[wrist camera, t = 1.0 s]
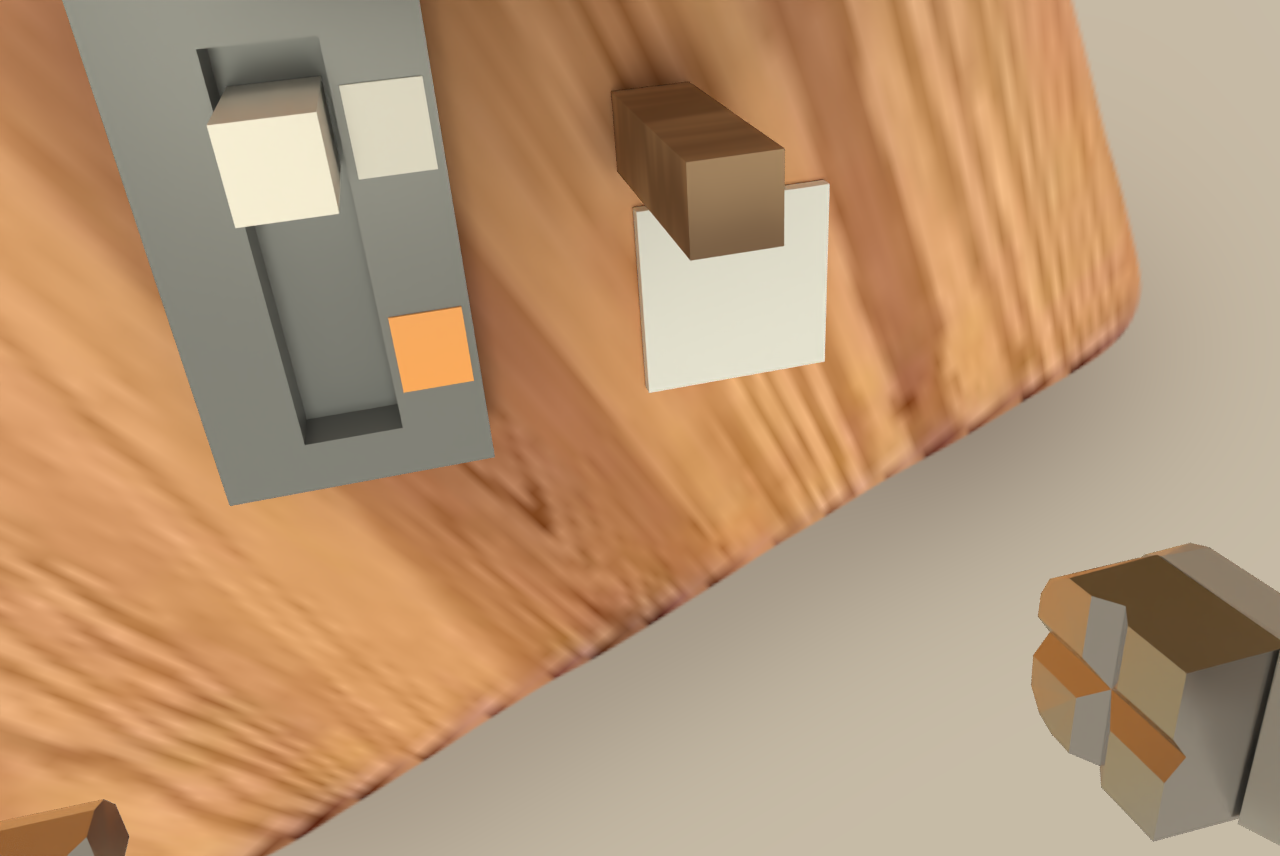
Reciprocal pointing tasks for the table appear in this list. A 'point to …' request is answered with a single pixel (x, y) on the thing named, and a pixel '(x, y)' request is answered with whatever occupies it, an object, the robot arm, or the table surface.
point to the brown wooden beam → (700, 170)
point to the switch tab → (276, 151)
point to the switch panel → (298, 240)
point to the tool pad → (734, 299)
